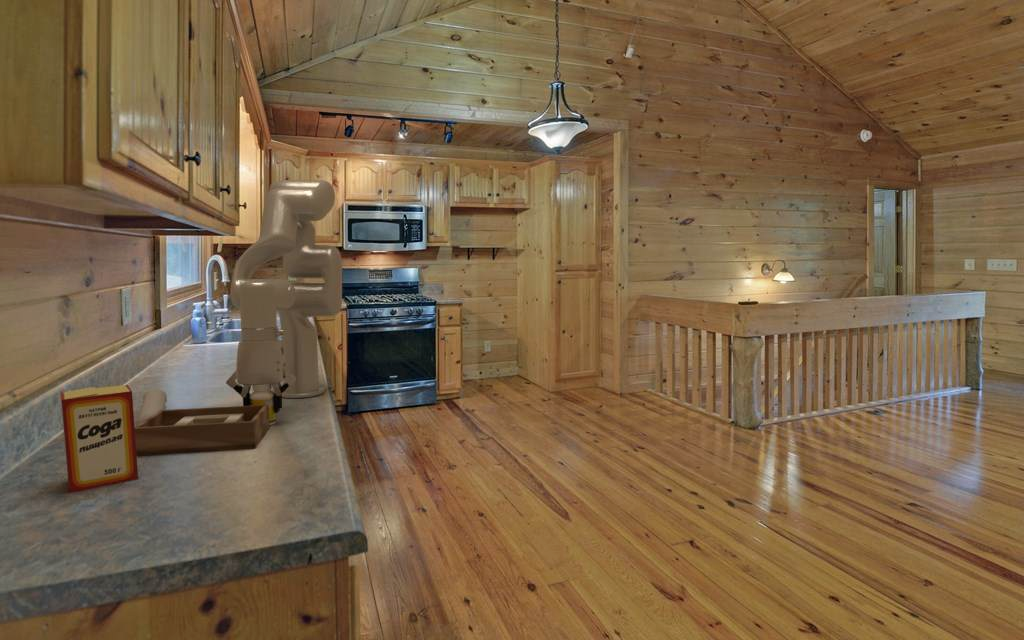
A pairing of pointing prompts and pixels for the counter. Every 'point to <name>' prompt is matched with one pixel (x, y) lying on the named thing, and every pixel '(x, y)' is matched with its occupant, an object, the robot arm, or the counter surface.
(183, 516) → the counter surface
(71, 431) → the baking soda box
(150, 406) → the tube
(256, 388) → the supplement bottle
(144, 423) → the crate
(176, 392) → the counter surface
